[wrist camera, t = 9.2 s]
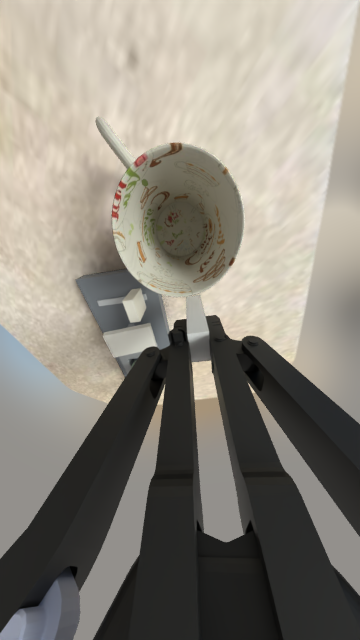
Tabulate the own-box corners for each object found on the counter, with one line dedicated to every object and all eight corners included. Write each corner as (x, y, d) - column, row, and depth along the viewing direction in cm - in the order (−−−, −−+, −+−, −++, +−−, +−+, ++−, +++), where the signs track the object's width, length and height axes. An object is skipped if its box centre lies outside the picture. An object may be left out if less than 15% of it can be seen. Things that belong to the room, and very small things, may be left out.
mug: (177, 280, 21) (174, 316, 13) (99, 194, 17) (11, 161, 8) (229, 234, 18) (269, 243, 10) (151, 112, 14) (98, -77, 5)
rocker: (104, 332, 21) (102, 336, 20) (150, 322, 21) (150, 326, 21) (115, 353, 23) (113, 357, 22) (156, 344, 24) (156, 348, 23)
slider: (131, 289, 20) (122, 301, 17) (140, 288, 20) (132, 299, 16) (137, 308, 21) (130, 322, 18) (146, 307, 21) (140, 321, 18)
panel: (83, 275, 21) (66, 284, 18) (154, 264, 20) (148, 272, 17) (132, 378, 33) (127, 395, 29) (179, 374, 32) (179, 391, 28)
